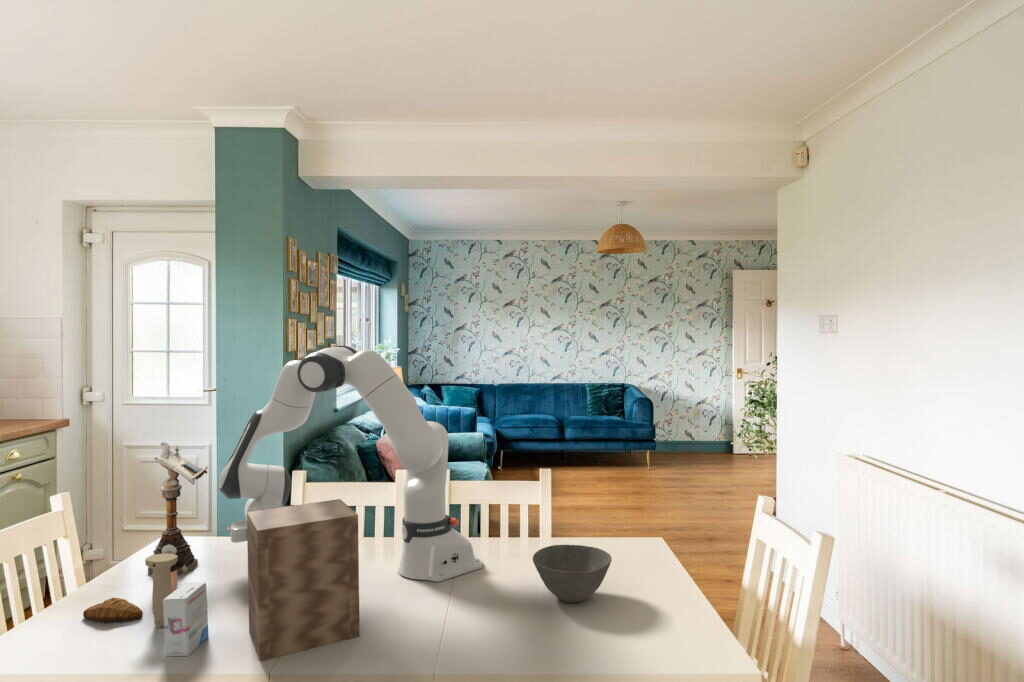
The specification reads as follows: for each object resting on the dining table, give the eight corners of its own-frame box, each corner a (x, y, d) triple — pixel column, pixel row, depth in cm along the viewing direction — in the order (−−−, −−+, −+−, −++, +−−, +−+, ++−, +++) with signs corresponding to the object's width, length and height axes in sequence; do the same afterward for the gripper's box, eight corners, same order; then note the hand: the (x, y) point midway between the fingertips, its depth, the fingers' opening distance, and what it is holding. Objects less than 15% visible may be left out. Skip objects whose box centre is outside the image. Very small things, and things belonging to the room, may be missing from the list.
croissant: (73, 625, 144) (72, 603, 144) (94, 612, 151) (94, 590, 151) (131, 627, 143) (131, 605, 143) (150, 613, 150) (150, 592, 150)
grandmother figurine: (154, 603, 155) (153, 550, 154) (150, 598, 158) (149, 546, 157) (189, 594, 160) (188, 543, 159) (185, 589, 163) (183, 539, 162)
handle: (169, 630, 141) (167, 562, 140) (142, 629, 142) (140, 560, 141) (183, 620, 146) (181, 554, 145) (157, 618, 147) (155, 553, 146)
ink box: (186, 635, 139) (184, 580, 138) (209, 636, 139) (208, 581, 138) (163, 656, 130) (162, 598, 130) (188, 656, 130) (186, 598, 130)
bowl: (620, 589, 162) (620, 549, 161) (597, 621, 145) (597, 577, 144) (550, 576, 170) (550, 538, 169) (520, 606, 152) (520, 563, 152)
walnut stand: (341, 610, 150) (340, 498, 150) (359, 636, 138) (358, 514, 137) (249, 631, 140) (246, 512, 140) (259, 661, 128) (257, 530, 127)
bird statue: (223, 557, 185) (221, 434, 183) (207, 575, 172) (204, 443, 170) (161, 559, 183) (158, 435, 181) (140, 578, 170) (137, 444, 168)
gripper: (225, 515, 172) (232, 529, 160) (305, 503, 182) (317, 516, 170) (226, 539, 172) (232, 555, 160) (305, 526, 182) (317, 540, 170)
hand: (276, 535), depth 165 cm, fingers open, 8 cm apart
